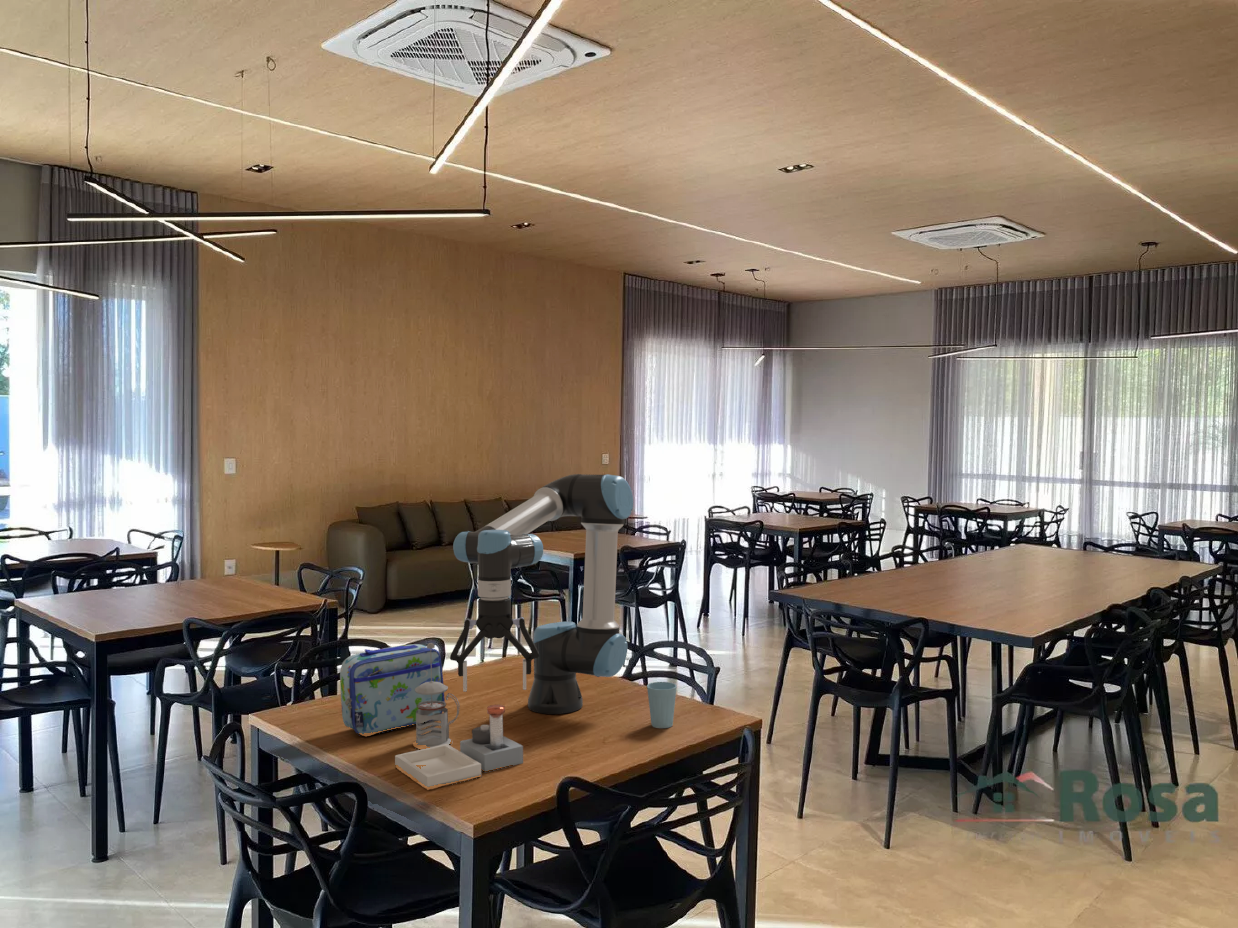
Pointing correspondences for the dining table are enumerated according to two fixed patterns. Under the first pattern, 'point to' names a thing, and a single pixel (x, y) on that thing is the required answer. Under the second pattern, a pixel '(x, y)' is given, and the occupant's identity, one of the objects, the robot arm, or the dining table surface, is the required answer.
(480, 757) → the grey block with knob
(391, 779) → the dining table surface
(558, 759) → the dining table surface
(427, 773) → the parts tray
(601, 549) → the robot arm
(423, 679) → the lunch box
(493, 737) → the pin
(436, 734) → the french press
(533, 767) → the dining table surface
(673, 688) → the cup
